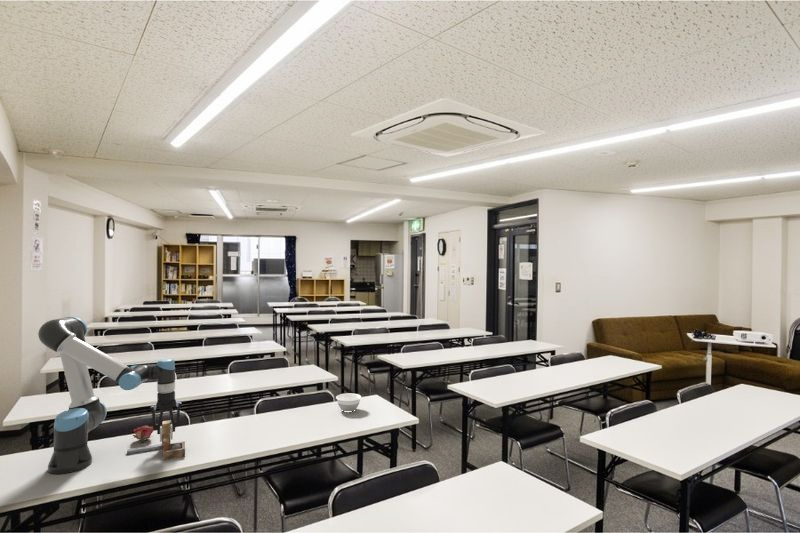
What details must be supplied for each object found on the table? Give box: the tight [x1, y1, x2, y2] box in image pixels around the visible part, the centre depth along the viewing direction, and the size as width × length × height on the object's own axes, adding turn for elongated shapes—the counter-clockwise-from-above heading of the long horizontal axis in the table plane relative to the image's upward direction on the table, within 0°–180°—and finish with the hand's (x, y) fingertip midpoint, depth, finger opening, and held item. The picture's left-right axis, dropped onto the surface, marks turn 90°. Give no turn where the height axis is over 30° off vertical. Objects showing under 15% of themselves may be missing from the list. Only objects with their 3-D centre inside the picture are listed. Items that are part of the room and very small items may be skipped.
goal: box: [162, 440, 186, 461], centre depth 194 cm, size 9×10×4 cm
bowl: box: [335, 392, 362, 411], centre depth 260 cm, size 16×16×9 cm
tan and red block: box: [161, 419, 172, 451], centre depth 198 cm, size 4×14×12 cm, turn 28°
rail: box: [126, 442, 172, 455], centre depth 199 cm, size 18×2×2 cm, turn 118°
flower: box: [132, 424, 154, 444], centre depth 209 cm, size 10×9×8 cm
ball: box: [171, 444, 181, 450], centre depth 195 cm, size 4×4×4 cm
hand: (166, 439), depth 202 cm, fingers open, 4 cm apart
